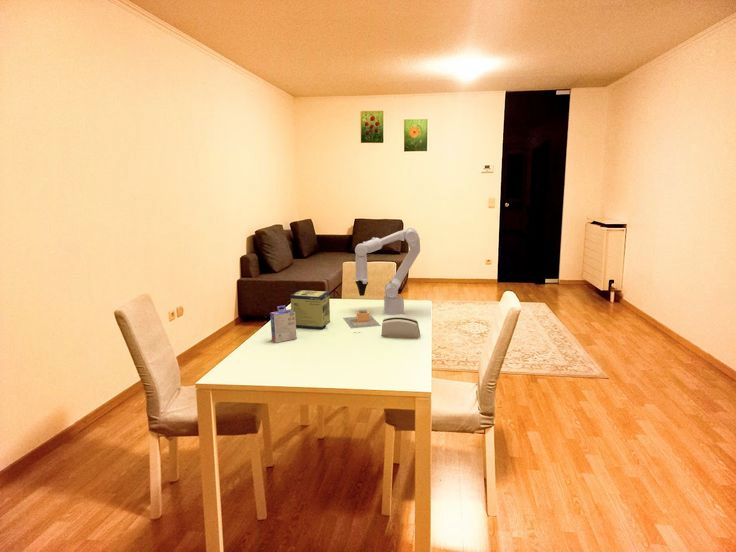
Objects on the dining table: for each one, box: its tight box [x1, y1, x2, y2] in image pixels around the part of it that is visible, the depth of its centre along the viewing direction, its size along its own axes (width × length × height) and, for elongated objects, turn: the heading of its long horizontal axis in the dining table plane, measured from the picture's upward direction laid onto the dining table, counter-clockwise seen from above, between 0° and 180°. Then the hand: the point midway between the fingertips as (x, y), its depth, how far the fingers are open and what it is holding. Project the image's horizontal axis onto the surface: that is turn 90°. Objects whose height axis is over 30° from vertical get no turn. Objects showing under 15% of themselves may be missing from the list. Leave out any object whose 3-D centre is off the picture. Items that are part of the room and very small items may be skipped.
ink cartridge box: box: [269, 304, 298, 343], centre depth 218 cm, size 10×6×14 cm, turn 121°
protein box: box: [290, 289, 331, 331], centre depth 237 cm, size 10×16×16 cm
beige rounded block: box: [381, 315, 421, 339], centre depth 220 cm, size 17×5×10 cm, turn 78°
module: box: [355, 310, 370, 322], centre depth 235 cm, size 5×4×5 cm
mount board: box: [342, 315, 382, 329], centre depth 240 cm, size 14×18×1 cm
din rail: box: [350, 316, 378, 327], centre depth 236 cm, size 11×7×2 cm, turn 104°
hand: (361, 295), depth 253 cm, fingers closed
